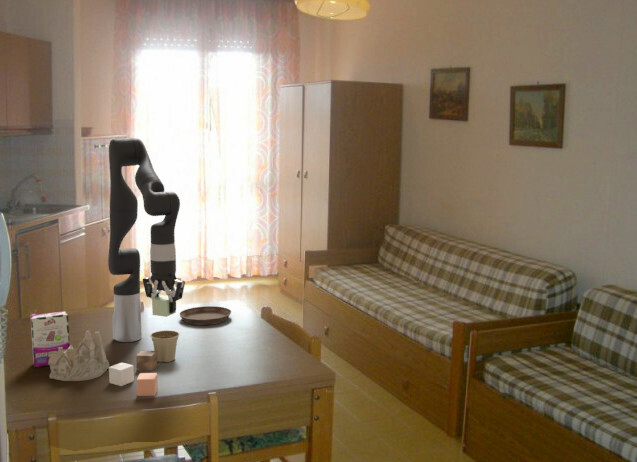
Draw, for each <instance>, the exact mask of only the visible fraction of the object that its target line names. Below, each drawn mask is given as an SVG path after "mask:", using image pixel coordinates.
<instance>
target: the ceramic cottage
mask: <svg viewBox="0 0 637 462" xmlns="http://www.w3.org/2000/svg"><path fill="white" fill-rule="evenodd" d="M103 346H104V345H103V339H102V336H101V331H94V335H93V337H92V334H91V330H86V331H85V334H84V337H82V338H81V342H79V343H78V346H77V348H75V347H73V345H72V344H70V346H69V348H68V349H67V350H66V351H64V352H63V348H62V347H61V348H60V347H59V349H58V352H52V353H51V356H50V358H49V362H48V364H49V365H50V366H49V368H50V373H49V379H50V380H51V379H53V380H55V381H56V380H57V381H62V382H80V381H89V380H93V379H96V378H99V377H101V376H102V375H103V374H105V372H107V369H108V370H109V367H111V366H110V362H109V360H108V359H107V356H106V352H105V350H104V347H103Z"/></svg>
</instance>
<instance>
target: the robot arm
mask: <svg viewBox="0 0 637 462" xmlns="http://www.w3.org/2000/svg"><path fill="white" fill-rule="evenodd" d="M108 159H109V160H108V162H109V164H108V165H109V177H110V180H109V181H110V184H109V185H110V188H109V189H110V190H109V191H110V193H109V245H108V255H107V256H108V257H107V258H108V259H107V262H108V263H107V265H108V271H109V273H110V274H111V275H113V276H120V275H121V276H122V275H129V276H128V277H127V278H126V279H124V280H122V281H121V282H120V281H119V282H118V283H116V284H115V285H114V286H113V307H114V308H113V310H114V311H113V313H112V315H111V319H112V320H111V321H112V324H111V325H112V340H115V341H116V342H120V343H131V342H136V341H139V340H141V339H142V306H141V253H140V251H139V249H137V248H121V245H122V243H123V240H124V239H125V238H126V236H127V235H128V233H129V232H130V231H131V229H132V228H133V226H134V225H135V224H136V222H137V220H138V209H139V208H138V206H139V205H138V204H139V203H138V198H137V196H136V194H135V193H134V192H133V190H132V188H130V186H129V185H128V183H127V182H126V181H125V180H126V179H125V178H124V176H123V171H122V168H123V167H132V166H133V167H134V166H135V167H136V166H138V169H136V172H135V175H134V176H135V177H134V180H135V185H136V187H137V189H138V190H139V192H140V193H141V195H142V200H143V201H142V202H143V209H144V211H145V213H146V214H147V215H149V216H152V217H158V216H159V217H161V216H164V218H163V220H161V221H160V222H156V223H153V224H151V227H150V249H149V251H150V252H149V257H150V258H149V259H150V262H149V263H150V273H151V276H148V277H147V276H146V277H144V278H142V284H143V287H144V291H145V296H146V297H147V298H150V300H152V299H154V298H156V297H159V296H161V295H160V294H161V292H162V291H163V292H165V296H168V298H169V301H170V302H169V313H170V314H172V313H174V312H175V311H176V312H177V301H180V300H181V299H182V298H183V295H184V291H185V290H184V289H185V285H186V281H185V280H180V279H177V276H176V274H177V273H176V272H177V259H176V258H177V257H176V245H175V242H176V240H175V238H176V237H175V228H176V223H177V219H178V215H179V211H180V207H181V202H180V201H181V200H180V198H179V196H178V194H177V193H176V192H174V191H165V186H164V184H163V182H162V180H161V179H160V178H159V176H158V175H157V173H156V172H155V171H156V170H154V167H153V164H152V162H151V158H150V156H149V154H148V151H147V149H146V146H145V144H144V142H143V141H142V140H141V139H140V138H138V137H123V138H112V139H111V140H110V141H109V145H108ZM174 314H175V313H174ZM172 315H173V314H172Z"/></svg>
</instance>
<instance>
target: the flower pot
mask: <svg viewBox="0 0 637 462" xmlns="http://www.w3.org/2000/svg"><path fill="white" fill-rule="evenodd" d="M149 337H150V338H151V341H152V345H153V351H157V363H158V362H159V363H164V362H165V363H170V362H173V361H174V360H175V359H176V351H177V344H178V343H177V342H178V340H179V337H180V333H179V332H178V331H175V330H167V329H166V330H165V329H164V330H158V331H155V332H152V333H150V336H149Z"/></svg>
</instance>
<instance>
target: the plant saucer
mask: <svg viewBox="0 0 637 462" xmlns="http://www.w3.org/2000/svg"><path fill="white" fill-rule="evenodd" d="M231 314H232V310H231V309H229V308H226V307H224V306H223V307H222V306H213V305H212V306H207V305H206V306H197V307H190V308H187V309H184V310H181V311H180V312H179V316H180V318H181V319H182V321H184V323H187V324H190V325H194V326H211V325H212V326H213V325H216V324H220V323H223V322H225V321H226V320H227V319H228V318H229V317H230V315H231Z"/></svg>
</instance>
